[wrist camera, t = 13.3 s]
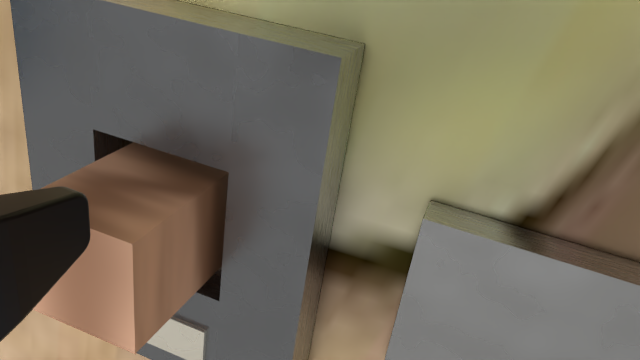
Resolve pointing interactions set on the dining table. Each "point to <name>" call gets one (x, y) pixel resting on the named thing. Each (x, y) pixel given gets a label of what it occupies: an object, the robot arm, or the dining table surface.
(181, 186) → the peg
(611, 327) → the tray
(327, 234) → the plate
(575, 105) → the dining table surface
